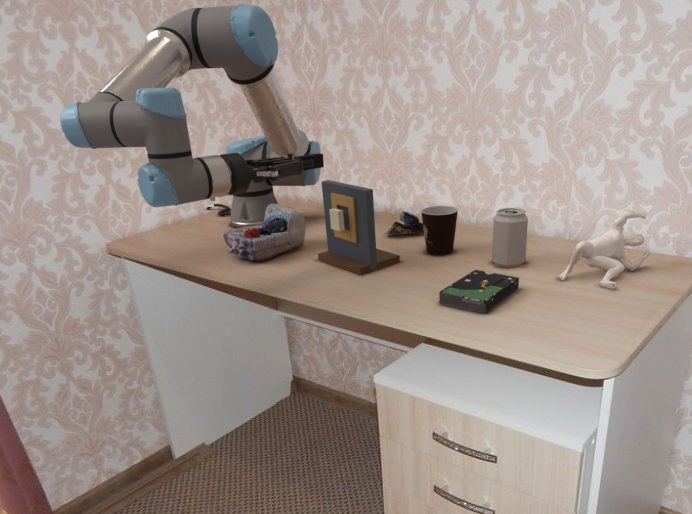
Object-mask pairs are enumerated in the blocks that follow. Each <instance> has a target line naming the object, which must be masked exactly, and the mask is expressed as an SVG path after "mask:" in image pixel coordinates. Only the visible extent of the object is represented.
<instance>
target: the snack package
mask: <svg viewBox="0 0 692 514" xmlns="http://www.w3.org/2000/svg"><path fill="white" fill-rule="evenodd" d="M399 221H400V222H399ZM399 221H395V222H393V224H392V225H391V227H390V228H389V229H388V230H387V232H385V235H386V237H389V236H390V235H411V234H416V233H419V232H421V231H424V228H423V222H420V219H419V217H418V216H417V215H415V214H413V213H409V211H405V210H402V211H401V213H400V214H399Z"/></svg>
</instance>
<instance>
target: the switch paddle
mask: <svg viewBox="0 0 692 514" xmlns="http://www.w3.org/2000/svg"><path fill="white" fill-rule="evenodd" d="M329 211H330V222H331V229H334V230H337V231H342V230H344V218H343V210H339V209H335V208H333V209H329Z"/></svg>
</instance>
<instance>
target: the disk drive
mask: <svg viewBox="0 0 692 514" xmlns="http://www.w3.org/2000/svg"><path fill="white" fill-rule="evenodd" d="M519 283H520V277H518V276H513V275H507V274H502V273H497V272H493V273H490V274H488V273H486V271H484V270H479V269H474V270H472V271H470V272H468V273H467V274H465V276H463V277H461V278H459V279H457V280H456V281H455V282H453V283H451V284H449V285H447V286H446V287H444V288H443V289H441V290H440V291H439V293H438V297H439V298H438V299H439V304H442V305H446V306H449V307H455V308H458V309H464V310H467V311H468V310H469V311H472V312H477V313H487V312H489V311H490V310H491V309H492V308H494V307H496V306H497V305H498V304H499V303H501V302H502V301H504V300H505V299H506V298H508V297H509V296H511V294H513V293H515V292H516V291H517V290H518V289H519V287H520V284H519Z"/></svg>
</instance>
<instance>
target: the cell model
mask: <svg viewBox="0 0 692 514" xmlns="http://www.w3.org/2000/svg"><path fill="white" fill-rule="evenodd" d="M305 236H306V221H305V214H304V211H301V210H299V209H296V208H293V207H290V206H287V205H283V204H279V203H278V204H270V205H268V206H267V208H266V211H265V220H264V222H263V224H262V225H257V226H249V227H242V228H231V229H226V230H224V232H223V233H222V238H223V241H224V243H225V244H226V245H227V246H228V248H229V249H230V250H228V251H227V254H228V255H231V254H234V255H235V256H236V257H238V258H239V259H241V260H245V261H246V260H247V261H251V262H260V261H266V260H269V259H272V258H274V257H275V256H277V255H279V254H281V253H286V252H287V251H289V252H290V251H292V250H293V249H294V248H296V247H299V246H302V245H304V243H305Z"/></svg>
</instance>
